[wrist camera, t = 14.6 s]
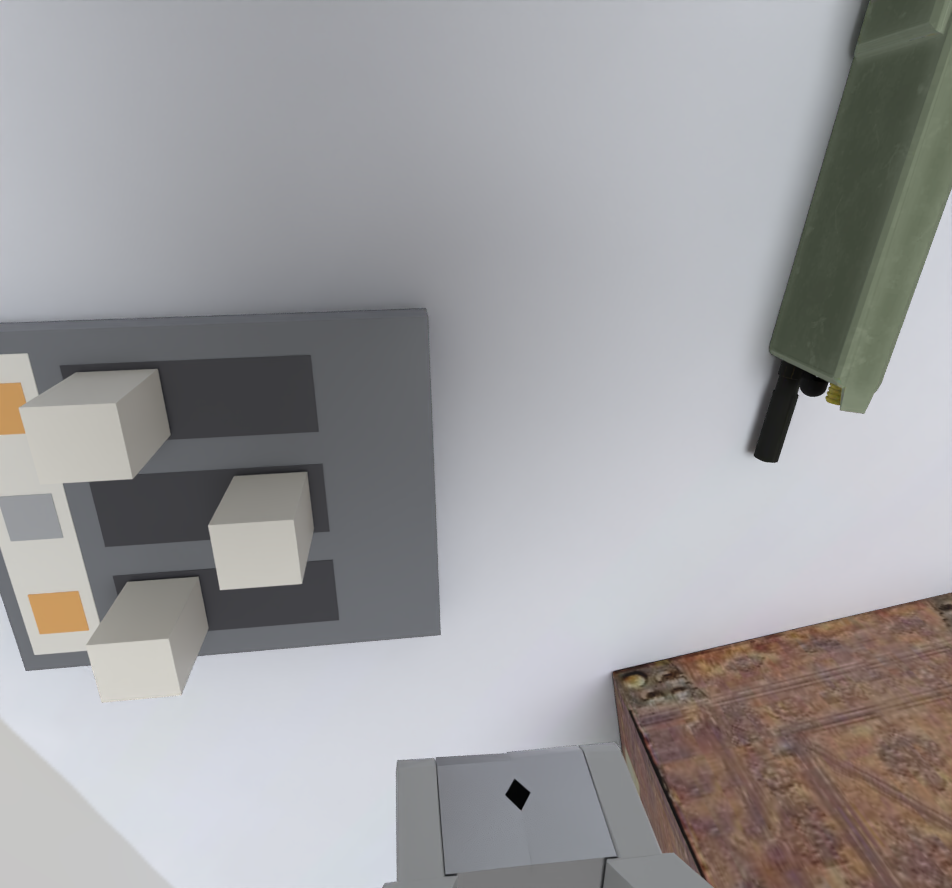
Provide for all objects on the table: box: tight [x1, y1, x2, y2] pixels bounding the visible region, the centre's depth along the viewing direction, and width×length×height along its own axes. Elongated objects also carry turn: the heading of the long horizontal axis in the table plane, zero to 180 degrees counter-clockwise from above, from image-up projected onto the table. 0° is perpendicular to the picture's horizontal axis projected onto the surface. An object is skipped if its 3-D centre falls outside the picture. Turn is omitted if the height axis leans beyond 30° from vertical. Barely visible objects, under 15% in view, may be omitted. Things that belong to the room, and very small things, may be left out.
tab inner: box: [19, 369, 171, 485], centre depth 28 cm, size 3×4×5 cm
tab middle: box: [208, 472, 314, 590], centre depth 31 cm, size 3×4×5 cm
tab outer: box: [86, 577, 209, 703], centre depth 32 cm, size 3×4×5 cm
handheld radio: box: [754, 0, 952, 463], centre depth 31 cm, size 7×3×25 cm
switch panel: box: [0, 308, 441, 671], centre depth 34 cm, size 18×22×2 cm
